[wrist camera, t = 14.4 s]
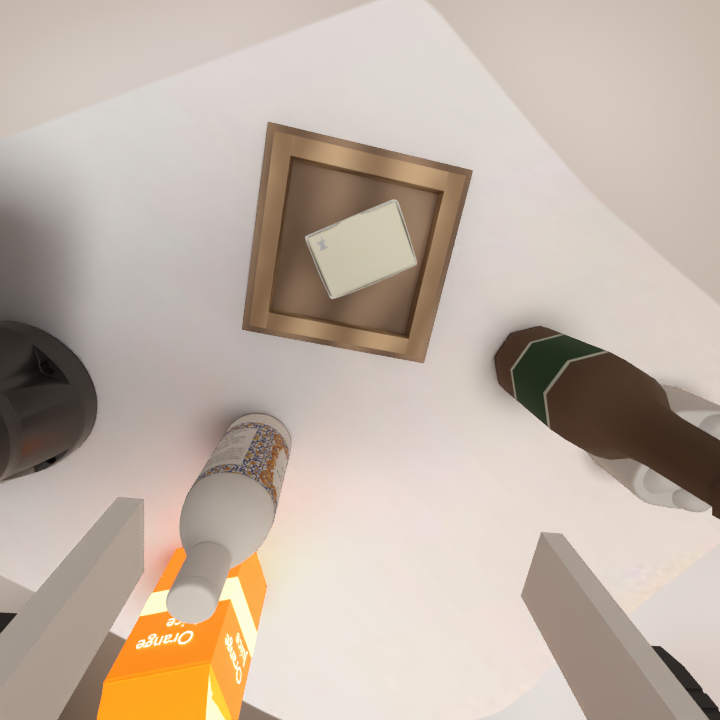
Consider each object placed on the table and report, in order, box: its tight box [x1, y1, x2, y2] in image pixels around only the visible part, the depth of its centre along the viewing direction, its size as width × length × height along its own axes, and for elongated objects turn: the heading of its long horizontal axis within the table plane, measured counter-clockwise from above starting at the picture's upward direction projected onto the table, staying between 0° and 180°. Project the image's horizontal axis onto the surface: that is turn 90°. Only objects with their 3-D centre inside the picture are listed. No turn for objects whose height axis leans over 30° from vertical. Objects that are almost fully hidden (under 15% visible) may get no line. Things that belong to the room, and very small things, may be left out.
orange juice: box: [97, 548, 267, 720], centre depth 37 cm, size 8×9×20 cm
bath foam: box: [166, 414, 291, 624], centre depth 32 cm, size 7×7×20 cm
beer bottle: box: [495, 326, 720, 519], centre depth 29 cm, size 8×8×24 cm
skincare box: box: [305, 199, 417, 299], centre depth 30 cm, size 6×4×12 cm
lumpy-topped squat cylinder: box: [589, 385, 720, 512], centre depth 40 cm, size 10×13×9 cm
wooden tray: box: [242, 122, 473, 363], centre depth 36 cm, size 18×18×3 cm
